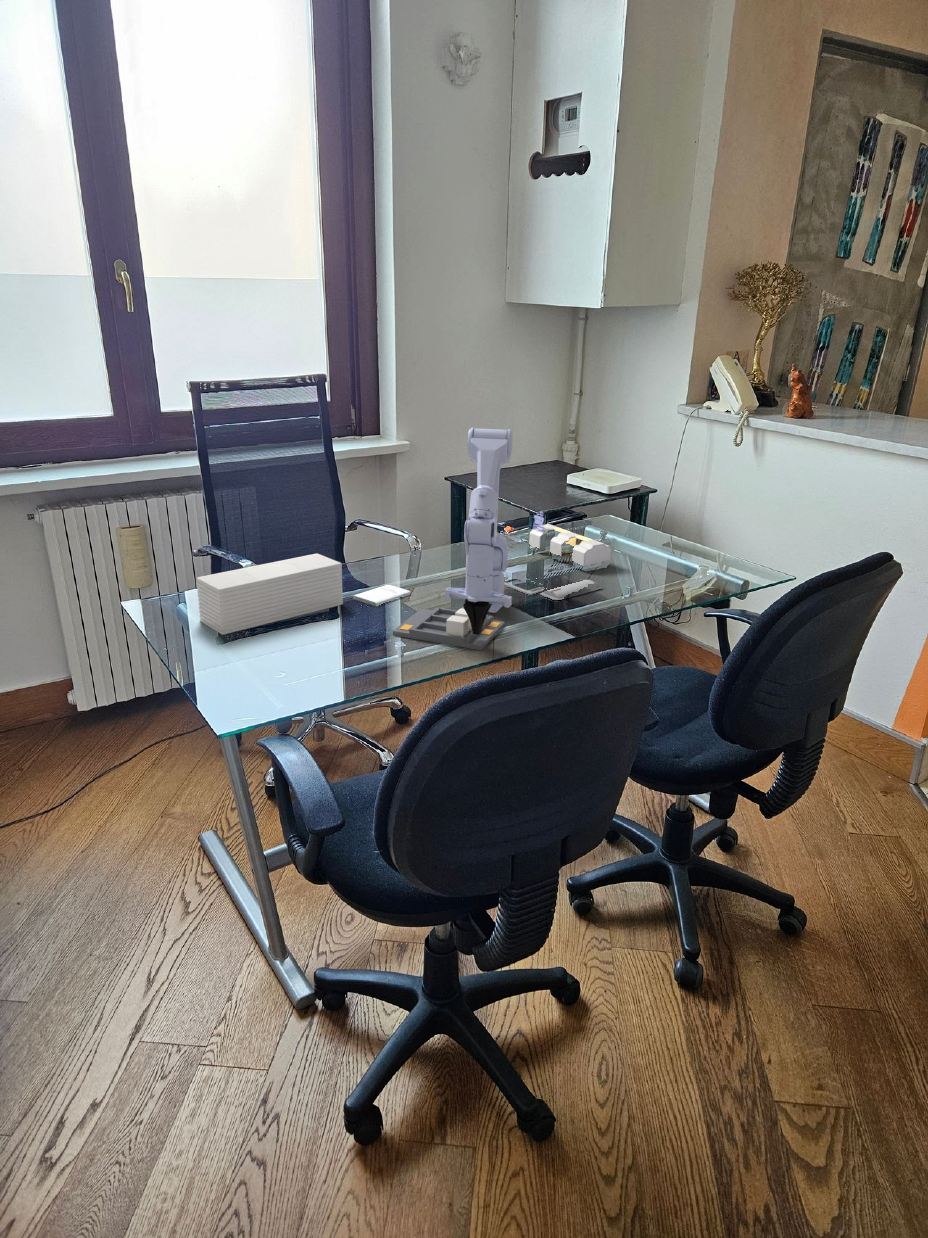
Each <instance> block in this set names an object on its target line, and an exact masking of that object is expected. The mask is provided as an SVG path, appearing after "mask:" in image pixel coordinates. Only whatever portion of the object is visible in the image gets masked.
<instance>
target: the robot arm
mask: <svg viewBox="0 0 928 1238" xmlns="http://www.w3.org/2000/svg"><path fill="white" fill-rule="evenodd" d="M467 435H468V436H467V454H468V456H469V458H470V461H471V462H474V463H476V465H477V466H476V467H477V471H476V473H477V476H476V477H477V479H476V481H477V485H476V486H477V487H476V488H473V490H471V493H470V501H469V508H468V509H469V510H468V518H467V519H466V520H465V523H464V531H463V532H464V535H463V537H464V546H465V549H464V551H465V552H464V553H465V554H466V556H465V582H464V583H465V587H451V586H450V587H449V586H448V587H447V588H446V589H445V591H444V592H445V593H444V594H445V595H444V598H445V599H457V600H464V603H463V604H462V608H463V607H464V610H465V611H466V613H467V615H468V617H469V620H470V623H471V627H472V633H473V634H476V635H479V634H480V633H481V632H482V627H483V623H484V620H485V618H486V615H488V613H492V614H496V613H497V612H498V611H500V609H501V608H502V607H504V608H510V607H511V606H512V603H513V596H510V595H506V594H505V587H504V576H505V574H504V572H506V571H507V568H508V560H509V558H508V557H509V555H508V553H509V549H508V545H509V543H508V540H507V538H506V537H504V536H503V535H502V534H500V532H498V515H499V514H498V513H499V496H500V495H499V492H500V491H499V490H500V472H501V469H502V467H503V465H505V464H509V463H510V462H511V460H512V453H513V452H512V451H513V439H514V438H513V435H514V434H513V431H512V430H511V429H509V428H508V429H497V428H496V429H494V428H475V427H470V429H469V430H468V434H467Z"/></svg>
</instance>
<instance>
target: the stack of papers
mask: <svg viewBox="0 0 928 1238" xmlns="http://www.w3.org/2000/svg"><path fill="white" fill-rule="evenodd" d="M342 567H343V563H342V562H340V561H337V560H335V559H332V558H330V557H327V556H325V555H323V554H320V553H313V554H307V555H303V556H302V555H301V556H298V557H297V556H296V557H292V558H288V559H283V560H278V561H273V562H266V563H262V564H256V565H253V566H248V567H243V568H242V567H241V568H238V569H233V570H228V571H222V572H218V573H212V574H208V575H201V576H197V577H196V589H197V597H198V598H197V600H198V609H199V618H200V619H199V621H200V622H201V623H202V624H204V625H206V626H208V627H209V628H211V629H213V630H214V631H215V632H217V633H219V634H221V635H227V634H231V633H234V632H239V631H242V630H247V629H250V628H251V629H252V628H254V627H259V626H263V625H267V624H270V623H275V622H278V621H279V622H280V621H282V620H286V619H291V618H295V617H298V616H302V615H305V614H310V613H314V612H319V611H322V610H325V609H331V608H335V607H338V606H341V605H344V598H343V595H344V594H343V593H344V592H343V568H342Z"/></svg>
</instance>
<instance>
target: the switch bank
mask: <svg viewBox="0 0 928 1238" xmlns="http://www.w3.org/2000/svg"><path fill="white" fill-rule="evenodd" d="M458 610H459V609H458ZM458 610H456V609H452V608H451V609H450V608H446V607H445V608H444V607H435V608H434V609H433V610H432V609H427V608H421V609H419V610H418V611H416V612H415V613H414V614H412V615H411V616H410V617H409V618H407V619H406V620H405V621H403V622H402V623H401V624H399V626H397V627H396V628H395V629H393V630H392V636H397V637H403V638H406V639H407V638H409V639H412V640H413V639H414V640H420V641H426V642H432V643H436V644H442V645H448V646H455V647H459V648H460V647H461V648H467V649H470V650H476V651H482V650H483V649H484V648H485V647H486V646H487V645H488V644H489V643H490V641H491V640H492V639H493V638H494V637H496V636H497V634H498V633H500V631H501V630H503V628H504V627H505V625H506V622H505V621H502V620H497V619H493V615H488V614H487V615H486V618H485V620H484V623H483V627H482V632H481V633H480V634H479V635H476V634H473V633H472V629H469V634H468V635H467V636H466V637H460V636H454V635H448V634H446V620H447V619H448V618H449V617H451V616H452V615H454V616H455V613H456V612H457V611H458Z"/></svg>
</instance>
